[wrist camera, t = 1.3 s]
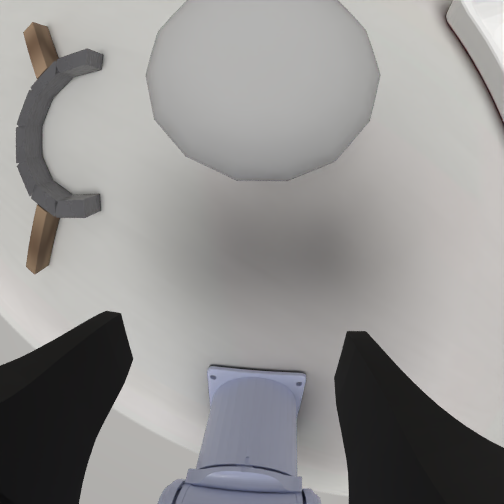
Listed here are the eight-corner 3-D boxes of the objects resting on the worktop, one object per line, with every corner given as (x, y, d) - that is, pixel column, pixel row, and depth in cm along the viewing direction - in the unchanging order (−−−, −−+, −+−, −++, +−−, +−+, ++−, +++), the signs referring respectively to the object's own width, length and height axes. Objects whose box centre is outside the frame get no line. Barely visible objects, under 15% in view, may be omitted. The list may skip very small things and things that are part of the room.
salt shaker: (221, 169, 17) (96, 234, 5) (221, 77, 15) (108, -37, 3) (319, 171, 16) (425, 244, 4) (321, 79, 14) (412, -43, 2)
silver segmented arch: (100, 210, 18) (85, 217, 17) (37, 211, 19) (21, 217, 17) (103, 54, 14) (87, 48, 13) (36, 77, 15) (20, 75, 13)
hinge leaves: (72, 268, 20) (58, 278, 19) (41, 264, 21) (27, 273, 19) (73, 15, 13) (58, 8, 11) (39, 30, 13) (24, 26, 11)
